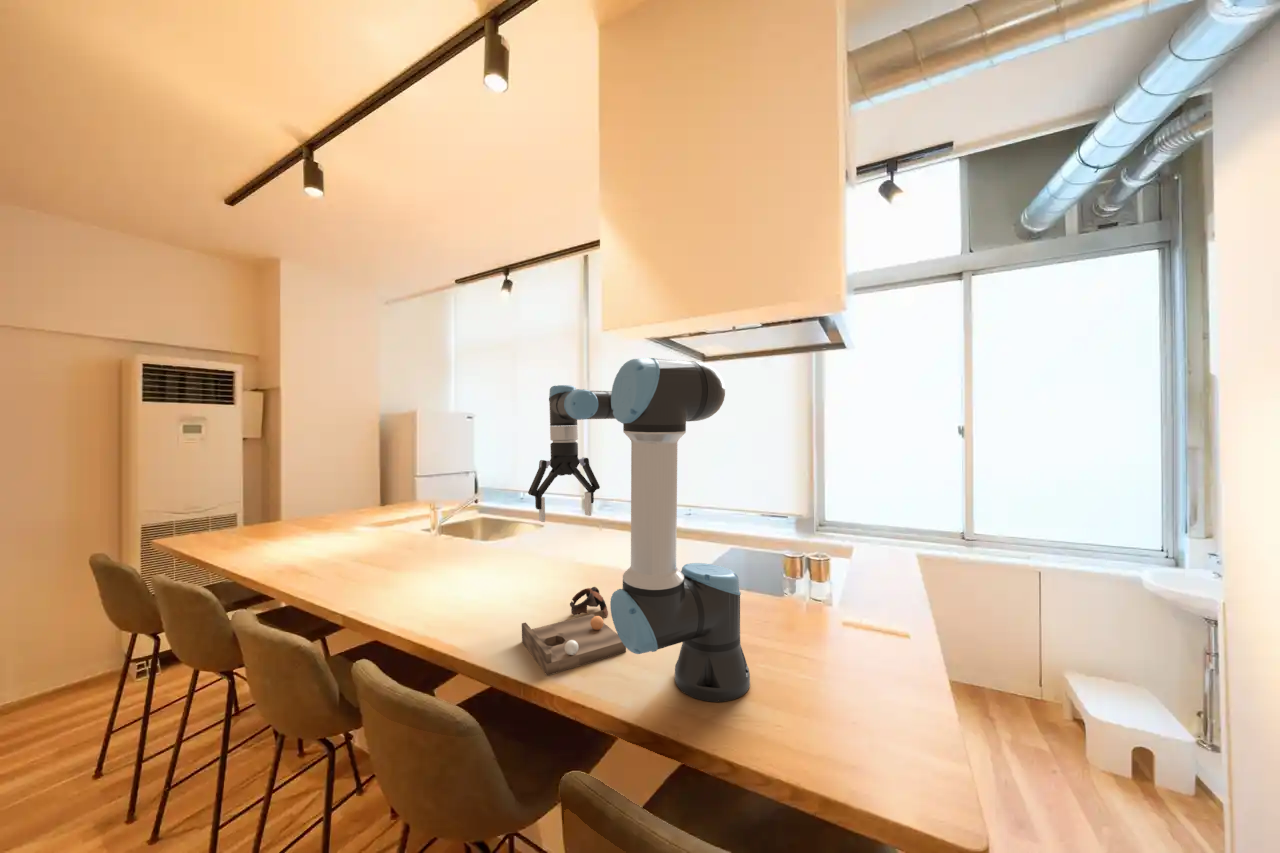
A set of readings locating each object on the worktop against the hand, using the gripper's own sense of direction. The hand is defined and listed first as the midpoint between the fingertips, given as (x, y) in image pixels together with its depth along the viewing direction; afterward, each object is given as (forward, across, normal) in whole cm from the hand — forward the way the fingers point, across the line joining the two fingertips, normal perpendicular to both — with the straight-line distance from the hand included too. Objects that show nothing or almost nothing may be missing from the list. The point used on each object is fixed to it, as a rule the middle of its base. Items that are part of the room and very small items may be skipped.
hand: (565, 518), depth 129 cm
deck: (+27, +6, +18) cm, 33 cm away
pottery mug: (+27, -6, +3) cm, 28 cm away
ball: (+23, 0, +18) cm, 29 cm away
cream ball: (+23, +10, +26) cm, 36 cm away
